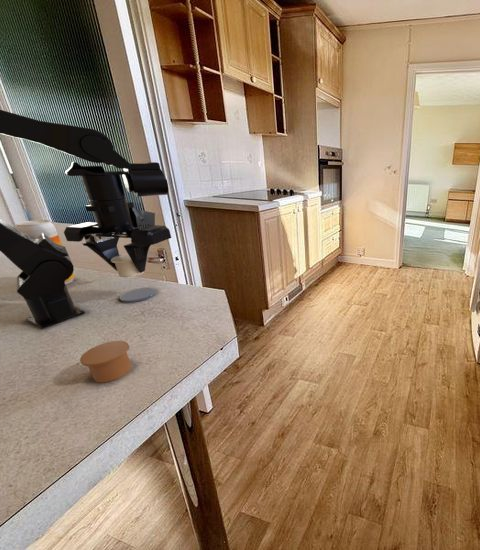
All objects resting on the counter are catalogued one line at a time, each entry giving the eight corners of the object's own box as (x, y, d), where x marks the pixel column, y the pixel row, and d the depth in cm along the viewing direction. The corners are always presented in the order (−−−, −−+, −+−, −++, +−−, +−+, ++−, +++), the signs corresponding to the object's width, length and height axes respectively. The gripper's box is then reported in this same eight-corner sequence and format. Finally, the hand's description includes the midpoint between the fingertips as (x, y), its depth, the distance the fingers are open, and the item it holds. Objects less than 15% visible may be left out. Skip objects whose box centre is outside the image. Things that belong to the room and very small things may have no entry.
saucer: (114, 298, 64) (113, 296, 64) (144, 287, 70) (143, 285, 70) (131, 305, 62) (130, 302, 62) (161, 293, 67) (160, 291, 67)
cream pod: (110, 275, 63) (104, 258, 61) (137, 267, 67) (132, 251, 66) (125, 280, 61) (119, 263, 59) (152, 271, 65) (147, 255, 64)
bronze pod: (81, 378, 42) (71, 357, 41) (122, 356, 47) (115, 337, 45) (102, 390, 40) (92, 368, 39) (143, 366, 45) (136, 346, 43)
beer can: (82, 279, 73) (59, 220, 67) (52, 289, 68) (24, 226, 62) (64, 276, 74) (41, 218, 69) (34, 285, 69) (5, 224, 63)
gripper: (179, 195, 64) (194, 260, 70) (101, 192, 65) (122, 257, 72) (139, 203, 54) (161, 279, 60) (48, 199, 55) (77, 274, 61)
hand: (131, 271), depth 64 cm, fingers closed on cream pod, 5 cm apart
